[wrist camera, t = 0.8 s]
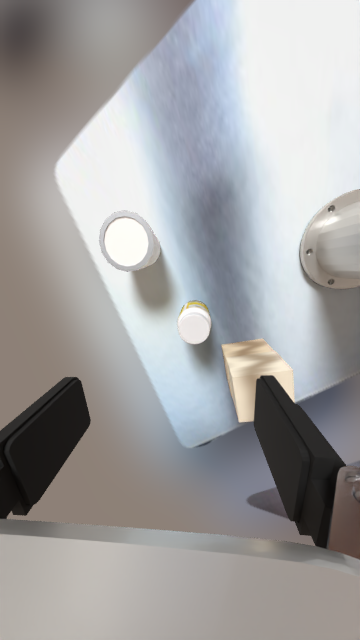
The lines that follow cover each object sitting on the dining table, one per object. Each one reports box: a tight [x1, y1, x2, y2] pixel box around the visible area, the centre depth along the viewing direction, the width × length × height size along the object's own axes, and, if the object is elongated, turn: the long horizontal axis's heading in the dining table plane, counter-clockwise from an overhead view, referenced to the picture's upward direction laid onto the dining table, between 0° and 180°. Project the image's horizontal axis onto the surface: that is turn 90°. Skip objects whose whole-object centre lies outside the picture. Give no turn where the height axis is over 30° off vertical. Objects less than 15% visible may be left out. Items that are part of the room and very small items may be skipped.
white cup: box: [99, 210, 161, 272], centre depth 25 cm, size 7×7×7 cm
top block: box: [226, 351, 295, 422], centre depth 24 cm, size 7×7×5 cm
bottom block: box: [222, 339, 274, 396], centre depth 29 cm, size 7×7×5 cm
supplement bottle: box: [177, 300, 211, 344], centre depth 26 cm, size 5×5×8 cm
